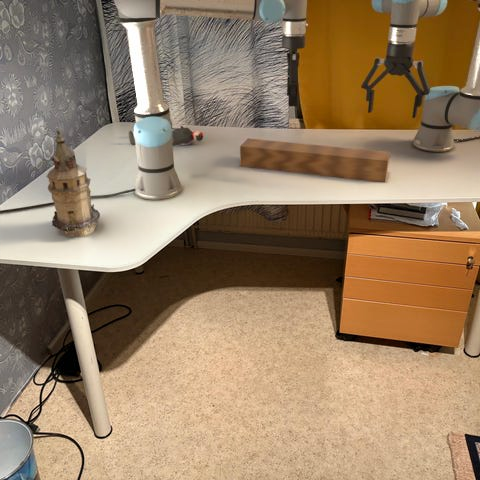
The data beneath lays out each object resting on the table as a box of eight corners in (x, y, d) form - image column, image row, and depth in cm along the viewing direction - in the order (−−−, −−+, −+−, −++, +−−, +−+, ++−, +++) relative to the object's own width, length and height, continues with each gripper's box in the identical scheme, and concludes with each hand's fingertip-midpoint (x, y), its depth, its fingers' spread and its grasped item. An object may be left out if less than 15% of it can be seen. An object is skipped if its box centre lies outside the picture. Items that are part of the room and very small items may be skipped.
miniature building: (80, 214, 164) (63, 117, 149) (111, 225, 157) (96, 125, 142) (44, 231, 154) (22, 130, 140) (75, 244, 147) (55, 139, 133)
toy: (143, 119, 231) (210, 119, 225) (145, 133, 234) (211, 133, 228) (119, 138, 209) (193, 139, 203) (122, 153, 212) (195, 154, 206)
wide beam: (240, 165, 197) (240, 146, 193) (247, 157, 204) (247, 138, 200) (385, 182, 182) (387, 161, 178) (387, 172, 189) (390, 152, 186)
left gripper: (308, 41, 161) (305, 110, 172) (303, 28, 183) (300, 91, 193) (283, 41, 161) (281, 110, 172) (281, 29, 183) (279, 91, 194)
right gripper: (355, 41, 157) (349, 112, 168) (444, 47, 148) (431, 122, 158) (362, 37, 163) (355, 106, 174) (448, 42, 153) (435, 115, 164)
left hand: (291, 100), depth 183 cm, fingers open, 13 cm apart
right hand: (391, 114), depth 166 cm, fingers open, 13 cm apart
